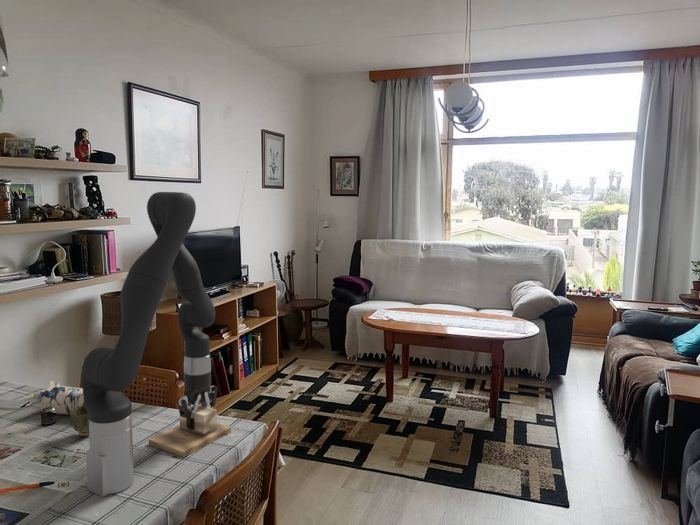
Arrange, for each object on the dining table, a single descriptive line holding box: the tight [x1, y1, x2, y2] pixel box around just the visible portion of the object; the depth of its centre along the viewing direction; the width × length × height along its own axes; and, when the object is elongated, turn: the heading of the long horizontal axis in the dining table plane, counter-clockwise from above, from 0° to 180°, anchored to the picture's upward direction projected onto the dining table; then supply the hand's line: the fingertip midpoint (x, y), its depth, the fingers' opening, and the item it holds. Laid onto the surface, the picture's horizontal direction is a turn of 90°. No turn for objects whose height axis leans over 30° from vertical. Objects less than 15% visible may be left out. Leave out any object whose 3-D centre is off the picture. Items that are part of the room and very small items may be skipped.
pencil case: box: [38, 380, 84, 416], centre depth 160 cm, size 22×8×10 cm, turn 83°
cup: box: [69, 404, 89, 438], centre depth 145 cm, size 8×7×8 cm
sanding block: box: [179, 404, 218, 436], centre depth 147 cm, size 5×10×6 cm, turn 60°
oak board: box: [148, 422, 232, 458], centre depth 145 cm, size 18×14×2 cm
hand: (198, 425), depth 147 cm, fingers closed on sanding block, 5 cm apart
